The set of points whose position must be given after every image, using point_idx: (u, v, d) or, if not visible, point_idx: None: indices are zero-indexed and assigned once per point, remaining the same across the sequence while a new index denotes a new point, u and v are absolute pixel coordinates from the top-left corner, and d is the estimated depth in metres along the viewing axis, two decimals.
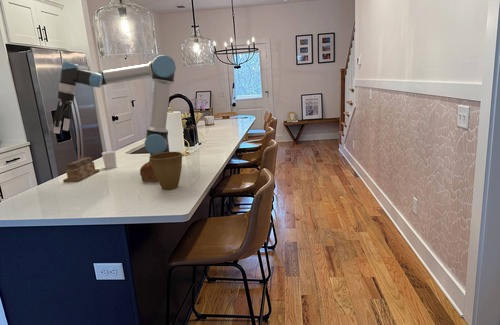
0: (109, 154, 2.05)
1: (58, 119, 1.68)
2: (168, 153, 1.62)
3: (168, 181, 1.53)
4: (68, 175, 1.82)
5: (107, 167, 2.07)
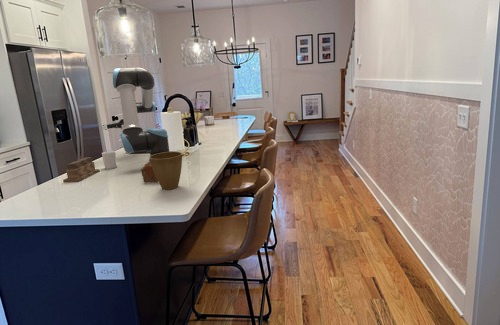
0: (109, 154, 2.05)
1: (102, 125, 2.22)
2: (168, 153, 1.62)
3: (168, 181, 1.53)
4: (68, 175, 1.82)
5: (107, 167, 2.07)
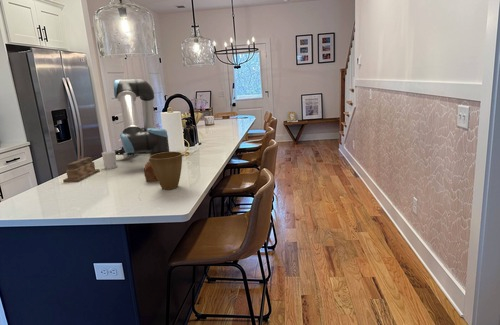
0: (109, 154, 2.05)
1: None
2: (168, 153, 1.62)
3: (168, 181, 1.53)
4: (68, 175, 1.82)
5: (107, 167, 2.07)
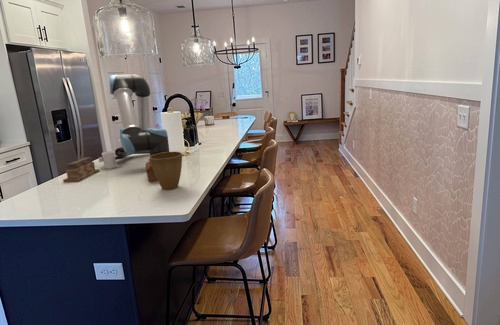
0: (109, 154, 2.05)
1: (100, 156, 2.12)
2: (168, 153, 1.62)
3: (168, 181, 1.53)
4: (68, 175, 1.82)
5: (107, 167, 2.07)
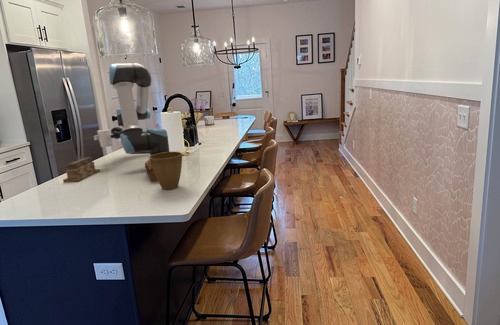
0: (105, 131, 2.02)
1: None
2: (168, 153, 1.62)
3: (168, 181, 1.53)
4: (68, 175, 1.82)
5: (102, 145, 2.04)
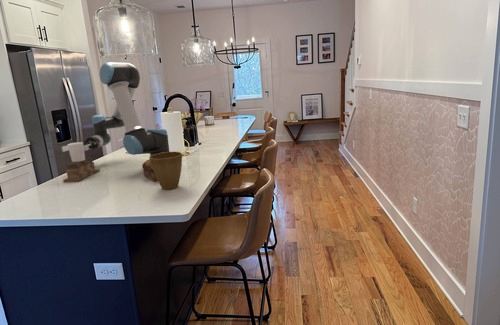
0: (76, 145, 1.84)
1: None
2: (168, 153, 1.62)
3: (168, 181, 1.53)
4: (68, 175, 1.82)
5: (74, 160, 1.86)
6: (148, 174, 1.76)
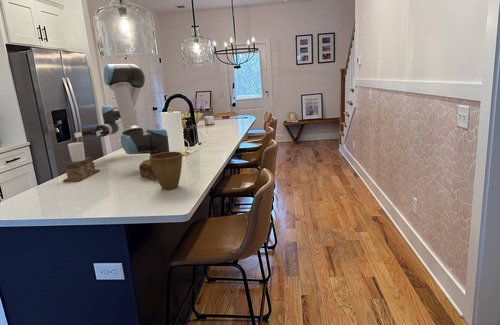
0: (76, 145, 1.84)
1: None
2: (168, 153, 1.62)
3: (168, 181, 1.53)
4: (68, 175, 1.82)
5: (74, 160, 1.86)
6: (149, 174, 1.75)
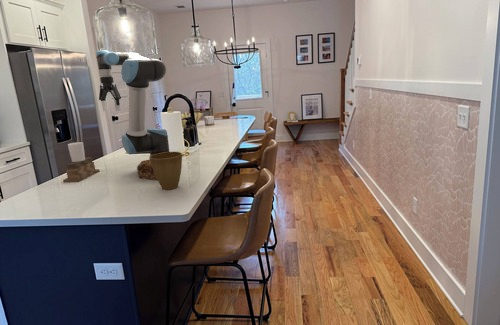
0: (76, 145, 1.84)
1: (99, 99, 2.17)
2: (168, 153, 1.62)
3: (168, 181, 1.53)
4: (68, 175, 1.82)
5: (74, 160, 1.86)
6: (150, 174, 1.75)
